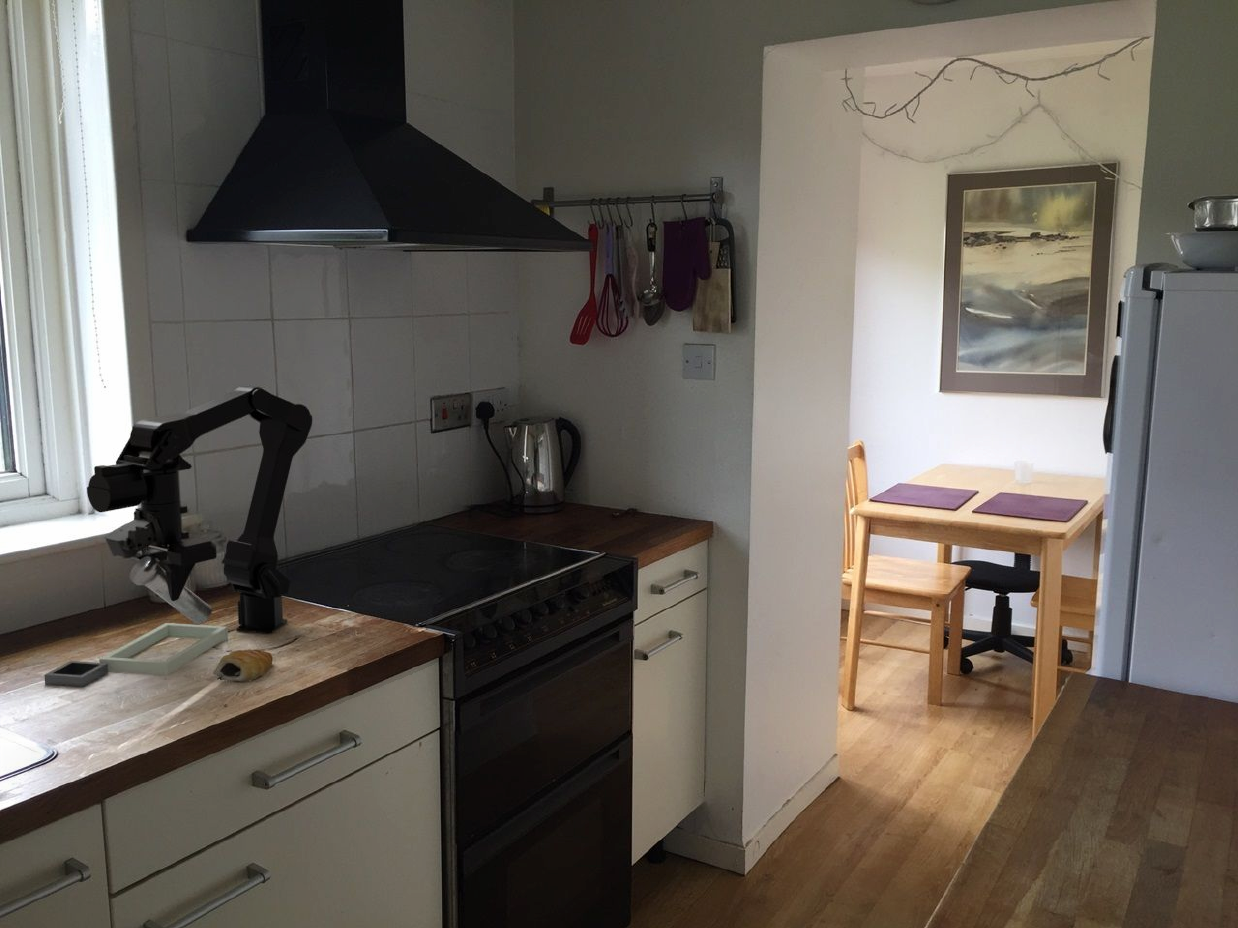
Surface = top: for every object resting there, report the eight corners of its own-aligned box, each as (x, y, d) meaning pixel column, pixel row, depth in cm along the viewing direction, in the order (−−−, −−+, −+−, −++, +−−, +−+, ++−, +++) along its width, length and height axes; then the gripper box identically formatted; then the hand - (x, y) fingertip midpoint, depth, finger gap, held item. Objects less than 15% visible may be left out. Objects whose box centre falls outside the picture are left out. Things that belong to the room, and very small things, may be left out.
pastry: (246, 660, 173) (245, 637, 172) (284, 665, 171) (284, 642, 170) (210, 681, 164) (209, 656, 163) (250, 686, 162) (249, 661, 161)
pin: (218, 599, 178) (159, 552, 169) (210, 624, 175) (150, 578, 166) (194, 605, 180) (135, 559, 170) (186, 630, 177) (125, 584, 167)
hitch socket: (108, 677, 164) (107, 663, 163) (83, 692, 158) (82, 677, 157) (71, 675, 165) (70, 660, 164) (45, 689, 159) (44, 674, 158)
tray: (228, 641, 181) (227, 626, 181) (168, 679, 163) (167, 663, 163) (166, 637, 183) (165, 622, 182) (100, 674, 165) (99, 658, 165)
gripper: (76, 502, 168) (84, 600, 170) (149, 517, 158) (156, 622, 160) (143, 491, 177) (149, 584, 179) (216, 505, 167) (221, 603, 169)
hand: (167, 598), depth 172 cm, fingers closed on pin, 3 cm apart
